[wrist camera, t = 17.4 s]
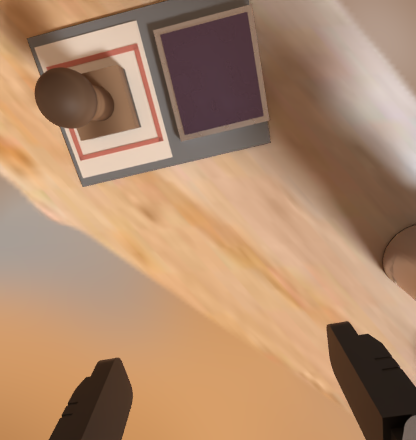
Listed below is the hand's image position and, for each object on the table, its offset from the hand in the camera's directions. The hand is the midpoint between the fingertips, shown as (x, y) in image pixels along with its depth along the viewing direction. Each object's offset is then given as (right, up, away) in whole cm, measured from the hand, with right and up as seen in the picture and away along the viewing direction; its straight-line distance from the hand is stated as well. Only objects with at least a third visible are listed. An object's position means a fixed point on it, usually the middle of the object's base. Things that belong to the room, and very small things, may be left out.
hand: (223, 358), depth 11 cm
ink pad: (0, +21, +21) cm, 29 cm away
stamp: (-12, +18, +21) cm, 30 cm away
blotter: (-6, +19, +21) cm, 29 cm away
